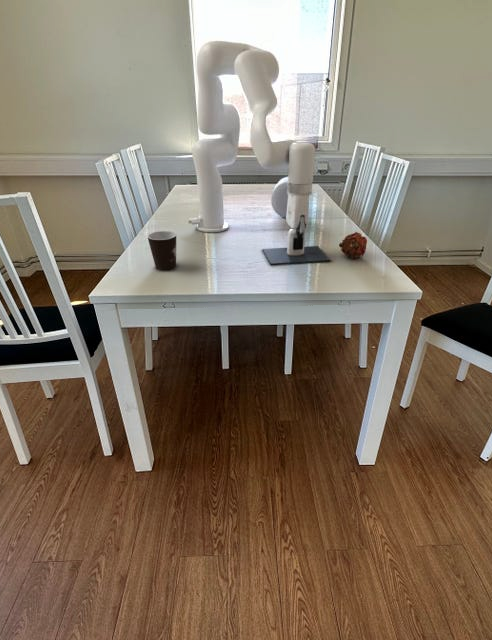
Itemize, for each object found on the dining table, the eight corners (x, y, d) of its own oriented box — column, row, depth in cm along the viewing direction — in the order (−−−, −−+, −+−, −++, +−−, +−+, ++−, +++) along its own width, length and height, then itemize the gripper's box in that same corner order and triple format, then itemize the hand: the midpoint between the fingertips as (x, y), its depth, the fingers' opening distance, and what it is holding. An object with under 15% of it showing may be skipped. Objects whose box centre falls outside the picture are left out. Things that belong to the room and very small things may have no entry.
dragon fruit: (352, 267, 129) (346, 259, 139) (375, 252, 126) (367, 245, 137) (339, 246, 126) (333, 239, 136) (363, 230, 123) (355, 224, 134)
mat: (270, 265, 126) (270, 263, 126) (262, 250, 137) (262, 248, 137) (330, 261, 129) (330, 259, 129) (317, 247, 140) (317, 245, 140)
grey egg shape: (255, 205, 170) (271, 185, 187) (277, 232, 175) (290, 210, 192) (288, 177, 158) (301, 158, 175) (310, 206, 163) (321, 185, 180)
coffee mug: (166, 274, 119) (162, 241, 114) (146, 268, 123) (141, 236, 117) (191, 262, 127) (188, 231, 122) (171, 257, 131) (167, 227, 125)
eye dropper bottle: (302, 257, 130) (305, 220, 124) (286, 255, 132) (287, 218, 125) (304, 252, 134) (307, 216, 127) (288, 251, 135) (290, 215, 128)
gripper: (281, 183, 127) (279, 239, 138) (294, 195, 114) (291, 256, 124) (304, 182, 128) (300, 238, 139) (319, 194, 115) (314, 255, 125)
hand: (296, 246), depth 131 cm, fingers open, 3 cm apart
